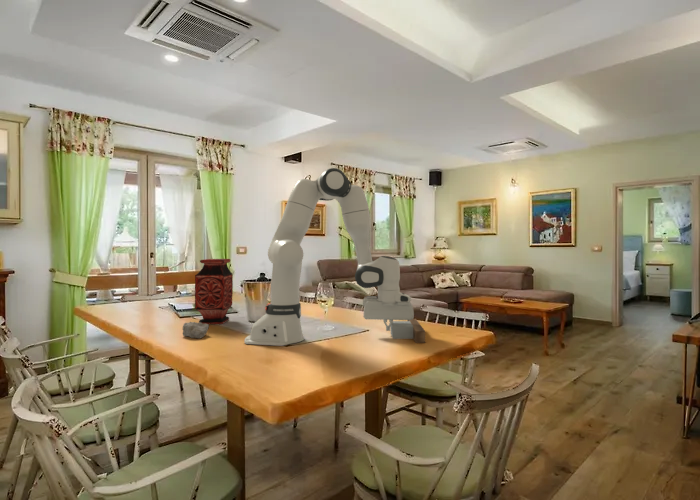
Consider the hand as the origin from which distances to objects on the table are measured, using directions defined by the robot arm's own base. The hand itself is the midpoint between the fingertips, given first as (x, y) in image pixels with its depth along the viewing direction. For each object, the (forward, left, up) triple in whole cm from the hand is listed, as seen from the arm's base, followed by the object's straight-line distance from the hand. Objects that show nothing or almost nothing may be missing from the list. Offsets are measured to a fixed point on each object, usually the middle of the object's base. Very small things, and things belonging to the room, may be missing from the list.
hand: (388, 330), depth 163 cm
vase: (-80, +28, -2) cm, 85 cm away
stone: (-78, -1, -2) cm, 78 cm away
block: (+5, 0, -2) cm, 6 cm away
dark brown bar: (+11, 0, -2) cm, 11 cm away
